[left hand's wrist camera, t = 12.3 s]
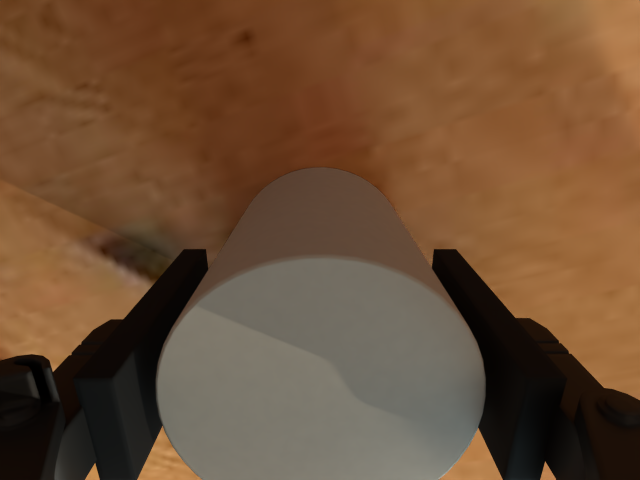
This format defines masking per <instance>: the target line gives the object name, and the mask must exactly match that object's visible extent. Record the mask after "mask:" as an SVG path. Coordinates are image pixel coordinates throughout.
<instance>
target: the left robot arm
mask: <svg viewBox="0 0 640 480" xmlns="http://www.w3.org/2000/svg"><path fill="white" fill-rule="evenodd" d="M432 270H433V271H434V273H435V274H436V276H437V277H438V279H439V281H440V282H441V284H442V285H443V287H444V288H445V290H446V291H447V293H448V295H449V296H450V298H451V299H452V301H453V302H454V304H455V306H456V307H457V309H458V310H459V312H460V313H461V315H462V317H463V318H464V320H465V321H466V323H467V324H468V326H469V328H470V330H471V332H472V334H473V336H474V337H475V339H476V341H477V344H478V347H479V350H480V353H481V356H482V359H483V363H484V370H485V376H486V397H485V403H484V409H483V414H482V417H481V420H480V423H479V426H478V428H479V430H480V432H481V434H482V436H483V438H484V440H485V443H486V445H487V447H488V449H489V451H490V453H491V455H492V457H493V460H494V462H495V464H496V466H497V468H498V470H499V472H500V474H501V477H502V479H503V480H540V478H541V474H542V471H543V467H544V463H545V461H546V463H547V465H548V466H549V468H550V470H551V471H552V473H553V475H554V476H555V478H556V480H640V400H638V399H636V398H634V397H632V396H630V395H628V394H626V393H622V392H619V391H616V390H613V389H607V388H603V387H602V385H601V384H600V383H599V382H598V381H597V380H596V379H595V378H594V377H593V376H592V375H591V374H590V373H589V372H588V371H587V370H586V369H585V368H584V367H583V366H582V365H581V364H580V363H579V361H578V360H577V359H576V358H575V357H574V356H573V355H572V354H569V351H568V350H567V349H566V348H565V347H564V346H563V345H562V344H561V343H559V341H558V340H557V339H556V338H555V336H554V335H553V334H552V333H551V332H550V331H549V330H548V329H547V328H545V327H543V326H542V325H540V324H538V323H537V322H535V321H533V320H532V319H530V318H515V317H514V316H513V315H512V314H511V312H510V311H509V310H508V309H507V308H506V307H505V306H504V304H503V303H502V302H501V301H500V300H499V299H498V297H497V296H496V295H495V294H494V293H493V292H492V290H491V289H490V288H489V287H488V286H487V285H486V284H485V282H484V281H483V280H482V279H481V278H480V277H479V275H478V274H477V273H476V272H475V271H474V270H473V268H472V267H471V266H470V265H469V264H468V263H467V262H466V260H465V259H464V258H463V257H462V256H461V255H460V253H459V252H458V251H457V250H456V249H434V254H433V263H432ZM207 271H208V263H207V254H206V249H184V250H183V251H182V252H181V253H180V255H179V256H178V257H177V258H176V259H175V260H174V262H173V263H172V264H171V265H170V266H169V267H168V268H167V270H166V271H165V272H164V273H163V274H162V275H161V277H160V278H159V279H158V280H157V281H156V282H155V284H154V285H153V286H152V287H151V288H150V289H149V290H148V292H147V293H146V294H145V295H144V296H143V297H142V299H141V300H140V301H139V302H138V303H137V304H136V305H135V307H134V308H133V309H132V310H131V311H130V312H129V314H128V315H127V316H126V317H125V318H124V319H111V320H109V321H107V322H106V323H104V324H102V325H101V326H99V327H97V328H96V329H94V330H93V331H92V332H91V333H90V334H89V335H88V336H87V337H86V338H85V339H84V340H83V341H82V344H81V345H79V346H78V347H77V348H76V349H75V350H74V351H73V352H72V355H69V356H68V357H67V358H66V359H65V360H64V361H63V362H62V363H61V364H60V365H59V367H58V368H57V369H56V370H55V371H54V372H52V368H51V365H50V361H49V360H48V359H47V358H45V357H44V356H40V355H33V354H30V355H22V356H16V357H12V358H9V359H5V360H2V361H0V480H85V478H86V477H87V475H88V473H89V472H90V470H91V468H92V467H93V465H94V464H95V463H96V467H97V471H98V474H99V478H100V480H137V479H138V476H139V474H140V472H141V470H142V468H143V466H144V464H145V462H146V460H147V457H148V455H149V453H150V451H151V449H152V447H153V445H154V443H155V440H156V438H157V436H158V434H159V432H160V430H161V428H162V426H163V425H162V422H161V419H160V417H159V412H158V407H157V402H156V382H155V379H156V372H157V365H158V360H159V357H160V354H161V351H162V347H163V344H164V342H165V340H166V338H167V336H168V335H169V333H170V331H171V329H172V327H173V325H174V324H175V322H176V320H177V319H178V317H179V316H180V314H181V312H182V311H183V309H184V308H185V306H186V305H187V303H188V301H189V300H190V298H191V297H192V295H193V293H194V292H195V290H196V289H197V287H198V285H199V284H200V282H201V281H202V279H203V278H204V276H205V274H206V273H207Z"/></svg>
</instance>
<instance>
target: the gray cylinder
mask: <svg viewBox="0 0 640 480" xmlns="http://www.w3.org/2000/svg"><path fill="white" fill-rule="evenodd" d="M155 382H156V402H157V407H158V412H159V417H160V419H161V422H162V425H163V428H164V431H165V433H166V435H167V437H168V438H169V440H170V442H171V444H172V446H173V448H174V449H175V450H176V452H177V453H178V454H179V456H180V457H181V458H182V460H183V461H184V462H185V463H186V464H187V465H188V466H189V467H190V468H191V470H192V471H193V472H194V473H195V474H196V475H198V476H199V477H200V478H201V479H203V480H439V479H440V478H441V477H442V476H443V475H444V474H446V473H447V472H448V471H449V470H450V469H451V468H452V467H453V465H454V464H455V463H456V462H457V461H458V460H459V459H460V457H461V456H462V455H463V453H464V452H465V450H466V449H467V448H468V446H469V445H470V443H471V441H472V439H473V437H474V435H475V433H476V431H477V429H478V426H479V423H480V420H481V417H482V414H483V409H484V403H485V397H486V376H485V370H484V363H483V359H482V356H481V353H480V350H479V347H478V344H477V341H476V339H475V337H474V336H473V334H472V332H471V330H470V328H469V326H468V324H467V323H466V321H465V320H464V318H463V317H462V315H461V313H460V312H459V310H458V309H457V307H456V306H455V304H454V302H453V301H452V299H451V298H450V296H449V295H448V293H447V291H446V290H445V288H444V287H443V285H442V284H441V282H440V281H439V279H438V277H437V276H436V274H435V273H434V271H433V270H432V268H431V266H430V265H429V263H428V262H427V260H426V259H425V257H424V255H423V254H422V252H421V251H420V249H419V248H418V246H417V244H416V243H415V241H414V240H413V238H412V237H411V235H410V233H409V232H408V230H407V229H406V227H405V226H404V224H403V222H402V221H401V219H400V218H399V216H398V215H397V213H396V211H395V210H394V208H393V207H392V205H391V204H390V202H389V201H388V200H387V198H386V197H385V196H384V195H383V194H382V193H381V192H380V191H379V190H378V189H377V188H376V187H375V186H373V185H372V184H371V183H370V182H368V181H366V180H365V179H363V178H361V177H359V176H357V175H355V174H352V173H350V172H347V171H343V170H339V169H334V168H326V167H316V168H307V169H301V170H297V171H294V172H290V173H288V174H286V175H283V176H281V177H279V178H278V179H276V180H274V181H273V182H271V183H270V184H268V185H267V186H266V187H265V188H263V189H262V190H261V191H260V192H259V193H258V194H257V195H256V197H255V198H254V199H253V200H252V202H251V203H250V205H249V206H248V208H247V209H246V211H245V212H244V214H243V216H242V217H241V219H240V220H239V222H238V223H237V225H236V227H235V228H234V230H233V231H232V233H231V235H230V236H229V238H228V239H227V241H226V243H225V244H224V246H223V247H222V249H221V251H220V252H219V254H218V255H217V257H216V258H215V260H214V262H213V263H212V265H211V266H210V268H209V270H208V271H207V273H206V274H205V276H204V278H203V279H202V281H201V282H200V284H199V285H198V287H197V289H196V290H195V292H194V293H193V295H192V297H191V298H190V300H189V301H188V303H187V305H186V306H185V308H184V309H183V311H182V312H181V314H180V316H179V317H178V319H177V320H176V322H175V324H174V325H173V327H172V329H171V331H170V333H169V335H168V336H167V338H166V340H165V342H164V344H163V347H162V351H161V354H160V357H159V360H158V365H157V372H156V379H155Z"/></svg>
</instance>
